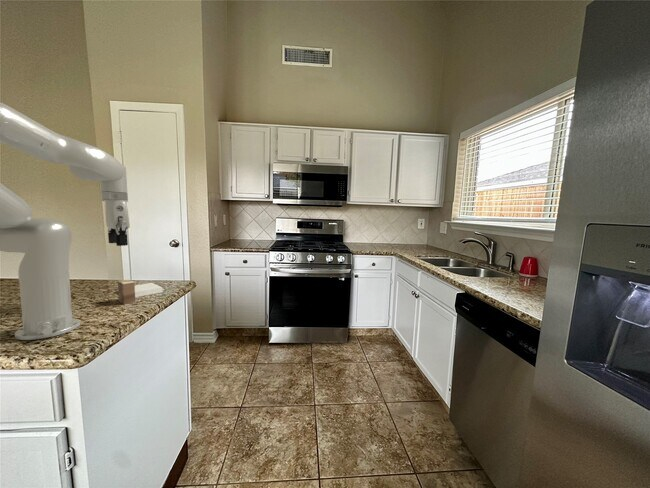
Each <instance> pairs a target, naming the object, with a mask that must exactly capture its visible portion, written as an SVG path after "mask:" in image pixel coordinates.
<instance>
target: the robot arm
mask: <svg viewBox="0 0 650 488" xmlns="http://www.w3.org/2000/svg"><path fill="white" fill-rule="evenodd" d="M0 143H2V144H4V145H7V146H9V147H11V148H13V149H14V150H15V149H16V150H18V151H20V152H22V153H24V154H27V155H28V156H31V157H33V158H36V159H38V160H40V161H45V162H49V163H53V164H60V165H65V166H66V165H67V166H68V169H69V171H70V173H71V174H72V176H74V177H76V178H77V179H79V180H82V181H88V182H99V184H100V197H101V202H105V203H104V207H105V209H104V210H105V211H104V212H105V223H106V224H105V225H106V227H107V236H108V237H107V238H108V243H109V244H116V247H121V246H123V247H124V246H128V245H129V241H128V231H127V230H128V229H130V218H129V210H128V204H127V203H129V197H128V195H129V194H128V181H127V180H128V177H127V167H126V166H125V165H124V164H123V163H121V162H120V161H119V160H118V159H117V158H115V157H114V156H112V155H111V154H109V153H108V152H106V151H104V150H102V149H101V148H98V147H97V146H94V145H92V144H91V145H90V144H88V143H85V142H83V141H80V140H77V139H74V138H71V137H69V136H66V135H63V134H61V133H57V132H55V131H53V130H52V129H50V128H48V127H46V126H44V125H43V124H41V123H39V122H37V121H35V120H33V118H30V117H29V116H27V115H25V114H23V113H21V112H20V111H18V110H16V109H15V108H13V107H11V106H9V105H7V104H5V103H3V102H1V101H0ZM32 216H33V210H32V208H31V207H30V205H29V204H28V202H26V201H25V200H24V199H23V198H22V197H20V196H19V195H17V194H16V193H14V192H13V191H12V190H11V189H9V188H8V187H6V186H5V185H4V184H2V183H1V182H0V252H4V253H20V254H22V253H24V254H23V257H22V259H21V260H20V263H19V265H18V273H17V274H18V282H19V295H20V296H19V297H20V304H21V305H20V306H21V317H22V318H21V319H22V327H21V328H19V329H18V330H16V331H15V332H14V338H15V339H16V340H19V341H20V340H21V341H33V340H35V341H36V340H42V339H48V338H52V337H56V336H60V335H62V334H66V333H68V332H69V333H70V331H73V330H76V329H77V328H78V327H80V324H81V321H80V319H78V318H74V317H73V309H72V296H71V295H72V294H71V283H70V282H71V281H70V267H69V266H70V265H69V261H70V260H69V259H70V258H69V256H70V250H71V245H72V239H73V236H72V235H73V234H72V231H71V229H70V228H69V226H68V225H66V224H65V223H63V222H61V221H59V220H56V219H52V218H43V217H38V218H37V217H36V218H35V217H32Z"/></svg>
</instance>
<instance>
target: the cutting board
mask: <svg viewBox="0 0 650 488" xmlns="http://www.w3.org/2000/svg"><path fill="white" fill-rule="evenodd" d="M163 291H164V289H163V286H160V285H157V284H155V283H152V282H147V283H142V284H136V285H135V298H138V297H144V296H148V295H153V294H161V293H163Z"/></svg>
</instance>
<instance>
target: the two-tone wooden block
mask: <svg viewBox="0 0 650 488" xmlns="http://www.w3.org/2000/svg"><path fill="white" fill-rule="evenodd" d="M135 283H136V282H135V281H134V280H131V279H129V278H126V279H120V280H117V291H118V302H119V303H121V304H122V305H128V304H135V303H136V297H135Z"/></svg>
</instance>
